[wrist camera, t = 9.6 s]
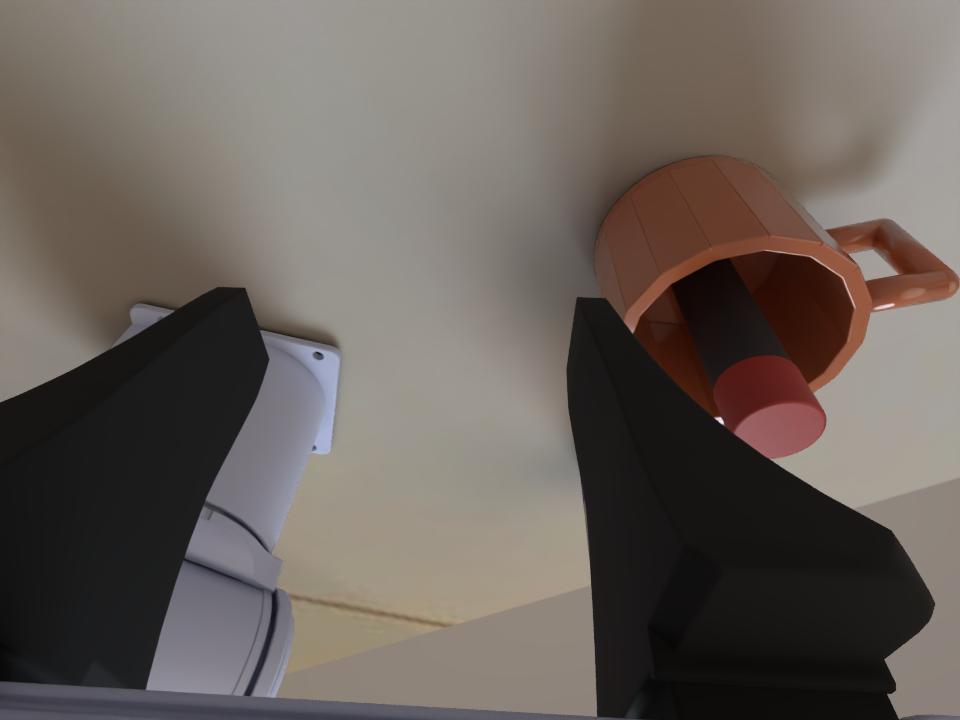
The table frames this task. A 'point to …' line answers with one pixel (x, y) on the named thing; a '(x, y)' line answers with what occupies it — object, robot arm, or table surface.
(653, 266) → the orange coffee mug
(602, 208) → the table surface
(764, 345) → the marker
